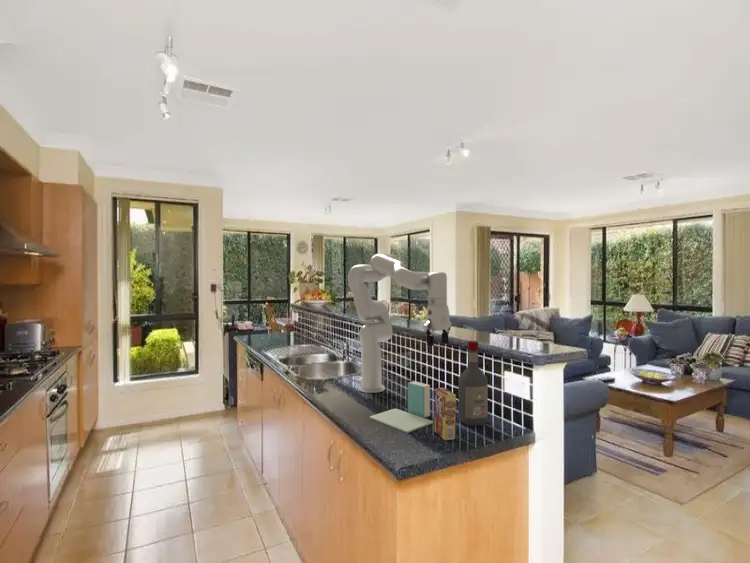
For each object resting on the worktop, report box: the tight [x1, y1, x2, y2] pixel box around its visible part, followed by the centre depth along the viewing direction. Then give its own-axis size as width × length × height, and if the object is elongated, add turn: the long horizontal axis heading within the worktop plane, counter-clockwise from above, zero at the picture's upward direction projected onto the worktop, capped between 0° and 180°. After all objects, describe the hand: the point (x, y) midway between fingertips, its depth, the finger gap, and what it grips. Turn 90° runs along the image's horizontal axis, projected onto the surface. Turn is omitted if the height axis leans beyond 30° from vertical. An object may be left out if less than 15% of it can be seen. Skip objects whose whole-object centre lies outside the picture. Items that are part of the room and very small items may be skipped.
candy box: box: [433, 387, 457, 441], centre depth 141 cm, size 9×4×15 cm, turn 14°
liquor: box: [458, 340, 489, 427], centre depth 153 cm, size 9×9×30 cm
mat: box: [369, 408, 435, 434], centre depth 155 cm, size 20×14×1 cm
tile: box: [407, 380, 431, 419], centre depth 162 cm, size 8×4×12 cm, turn 42°
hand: (437, 344), depth 169 cm, fingers open, 8 cm apart
